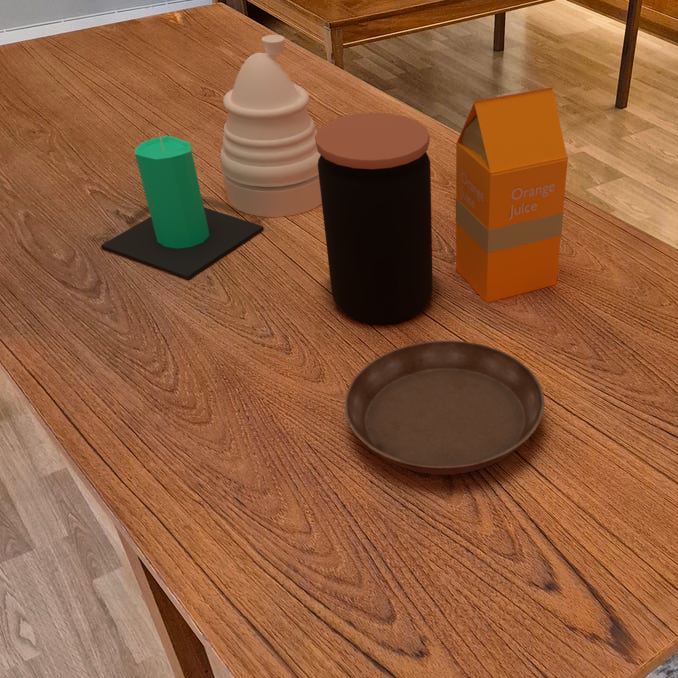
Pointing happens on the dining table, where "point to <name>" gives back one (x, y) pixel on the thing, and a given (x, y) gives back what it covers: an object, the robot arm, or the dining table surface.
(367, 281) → the coffee jar
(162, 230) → the candle
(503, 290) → the orange juice
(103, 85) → the dining table surface
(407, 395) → the plant saucer
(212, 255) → the mat
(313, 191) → the honey pot
